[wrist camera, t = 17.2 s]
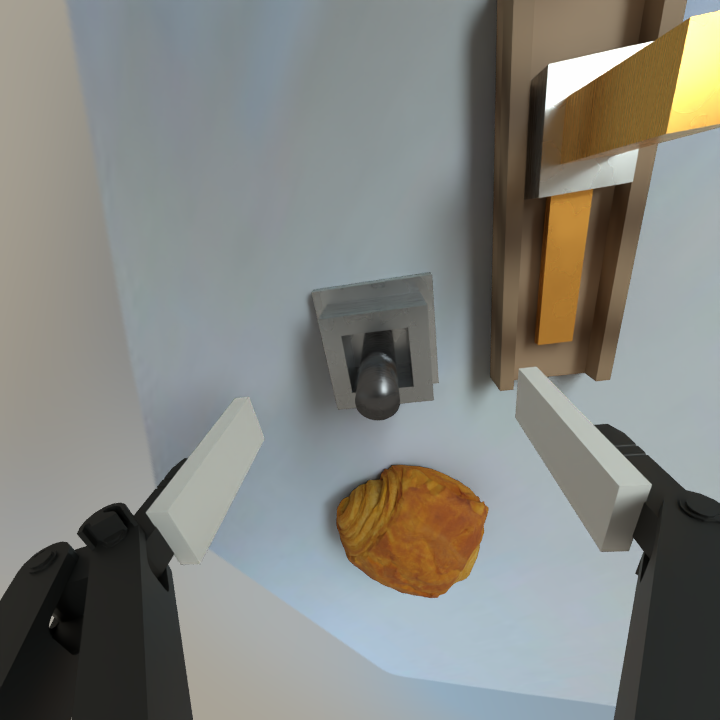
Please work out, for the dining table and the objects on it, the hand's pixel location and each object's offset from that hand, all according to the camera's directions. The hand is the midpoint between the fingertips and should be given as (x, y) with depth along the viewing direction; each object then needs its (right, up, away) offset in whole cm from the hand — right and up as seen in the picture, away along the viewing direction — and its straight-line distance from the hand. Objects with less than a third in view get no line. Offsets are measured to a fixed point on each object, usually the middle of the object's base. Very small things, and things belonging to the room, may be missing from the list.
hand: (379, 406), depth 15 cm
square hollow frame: (0, +4, +9) cm, 10 cm away
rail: (+12, +12, +6) cm, 18 cm away
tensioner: (+12, +11, +5) cm, 17 cm away
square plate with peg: (+1, +4, +10) cm, 11 cm away
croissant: (+5, -14, +19) cm, 24 cm away
